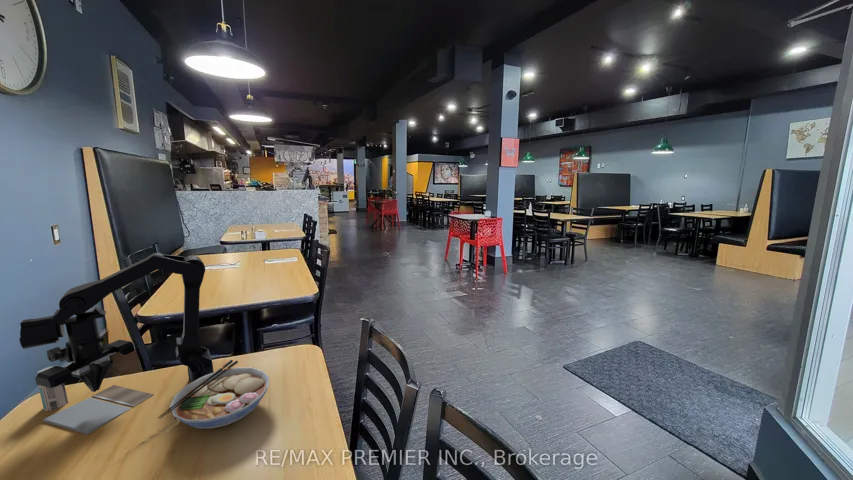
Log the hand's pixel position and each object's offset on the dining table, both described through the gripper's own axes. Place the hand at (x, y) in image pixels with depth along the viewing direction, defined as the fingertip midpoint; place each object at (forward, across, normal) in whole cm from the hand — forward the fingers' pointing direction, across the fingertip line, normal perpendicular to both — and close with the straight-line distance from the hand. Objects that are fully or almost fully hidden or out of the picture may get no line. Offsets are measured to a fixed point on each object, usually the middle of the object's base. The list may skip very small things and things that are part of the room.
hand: (95, 390), depth 93 cm
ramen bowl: (+7, -9, +33) cm, 35 cm away
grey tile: (+6, +2, 0) cm, 7 cm away
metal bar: (+7, -6, 0) cm, 9 cm away
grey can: (+7, +2, -13) cm, 15 cm away
